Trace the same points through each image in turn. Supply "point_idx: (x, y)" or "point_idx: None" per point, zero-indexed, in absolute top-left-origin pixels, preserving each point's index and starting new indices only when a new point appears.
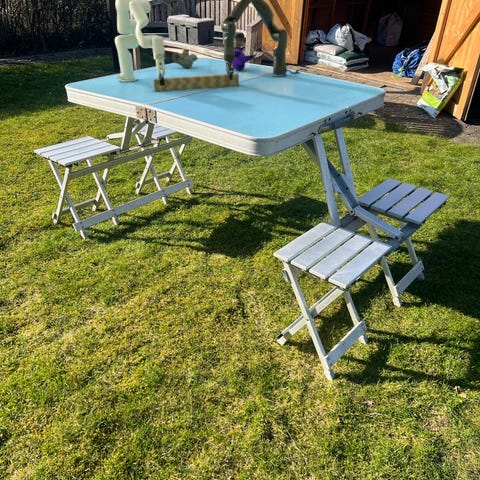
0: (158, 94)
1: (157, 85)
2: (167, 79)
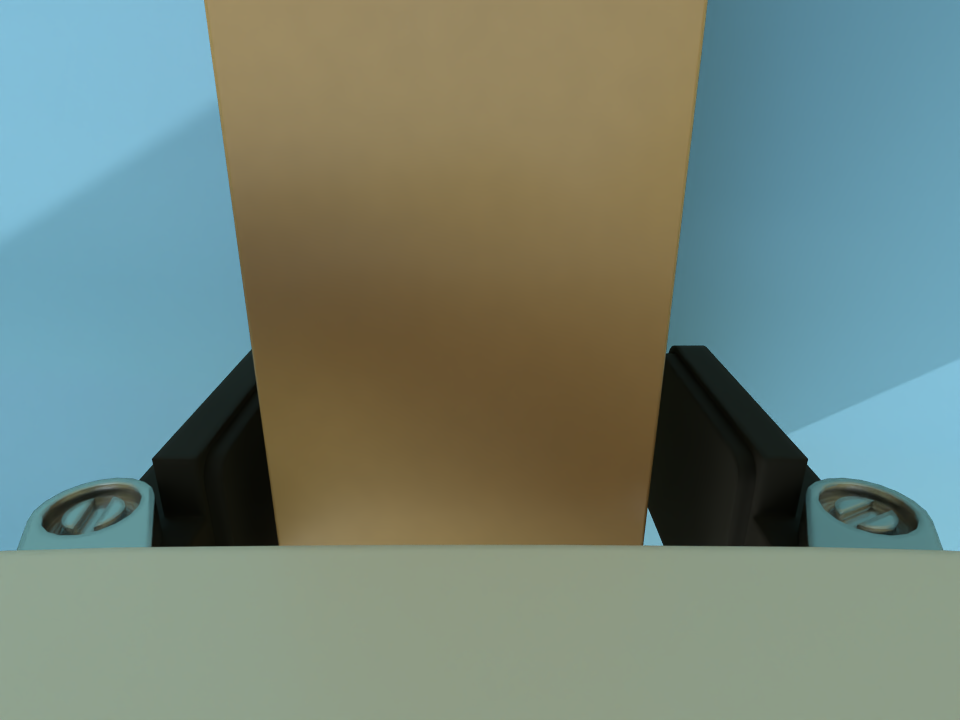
0: (944, 492)
1: None
2: (676, 257)
